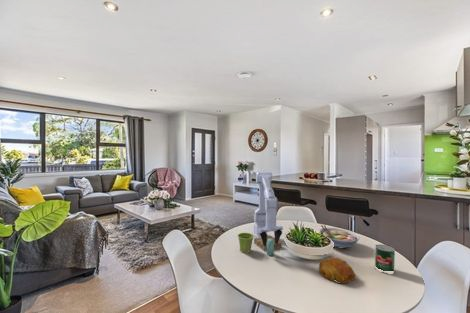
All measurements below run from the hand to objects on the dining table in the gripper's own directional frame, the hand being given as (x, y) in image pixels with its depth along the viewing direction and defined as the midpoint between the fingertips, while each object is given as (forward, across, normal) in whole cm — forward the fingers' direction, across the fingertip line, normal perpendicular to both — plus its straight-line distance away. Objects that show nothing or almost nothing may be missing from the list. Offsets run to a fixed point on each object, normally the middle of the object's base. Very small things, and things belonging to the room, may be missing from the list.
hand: (270, 244), depth 125 cm
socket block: (+6, +5, +11) cm, 13 cm away
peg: (+6, 0, 0) cm, 6 cm away
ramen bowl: (+6, +46, -5) cm, 47 cm away
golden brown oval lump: (+6, +17, -30) cm, 35 cm away
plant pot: (+6, -11, +9) cm, 15 cm away
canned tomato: (+6, +43, -35) cm, 56 cm away
